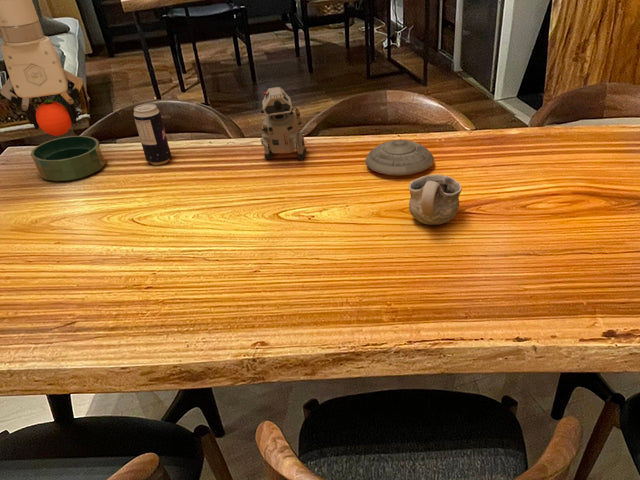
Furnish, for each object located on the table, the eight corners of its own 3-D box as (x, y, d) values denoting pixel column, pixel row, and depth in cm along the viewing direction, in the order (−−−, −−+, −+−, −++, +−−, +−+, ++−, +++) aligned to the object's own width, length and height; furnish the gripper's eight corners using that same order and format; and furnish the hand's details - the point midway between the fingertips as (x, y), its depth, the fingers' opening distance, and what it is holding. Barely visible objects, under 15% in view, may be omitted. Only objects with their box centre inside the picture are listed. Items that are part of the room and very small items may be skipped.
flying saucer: (378, 149, 144) (377, 125, 140) (441, 156, 140) (442, 131, 136) (355, 176, 133) (354, 151, 130) (422, 184, 129) (423, 158, 126)
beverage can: (173, 163, 142) (160, 109, 134) (148, 168, 140) (132, 113, 132) (170, 154, 146) (156, 101, 138) (145, 158, 144) (130, 105, 136)
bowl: (37, 187, 134) (28, 165, 131) (42, 162, 144) (33, 141, 141) (106, 176, 137) (98, 154, 134) (105, 153, 147) (98, 132, 144)
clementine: (44, 129, 138) (31, 96, 133) (77, 125, 139) (65, 92, 134) (41, 142, 132) (28, 108, 127) (76, 138, 133) (63, 103, 129)
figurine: (259, 171, 137) (247, 100, 127) (270, 150, 145) (260, 82, 135) (299, 171, 136) (291, 100, 126) (308, 150, 145) (301, 82, 135)
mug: (458, 208, 121) (462, 158, 114) (461, 241, 112) (464, 188, 105) (409, 208, 122) (409, 158, 115) (407, 241, 112) (407, 188, 106)
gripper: (-29, 42, 118) (11, 136, 130) (68, 32, 121) (98, 124, 133) (-23, 33, 123) (15, 124, 135) (69, 23, 127) (98, 113, 139)
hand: (56, 123), depth 134 cm, fingers closed on clementine, 7 cm apart
